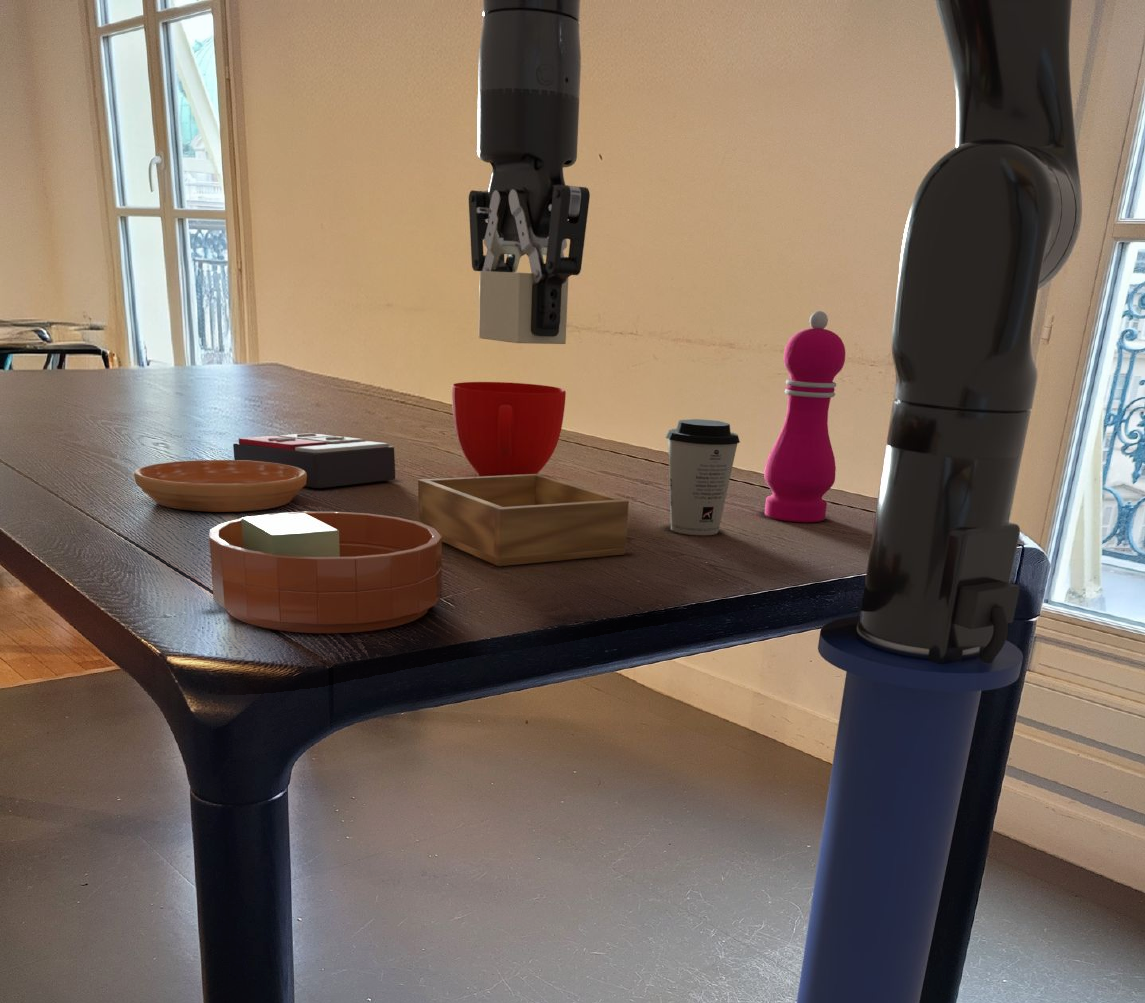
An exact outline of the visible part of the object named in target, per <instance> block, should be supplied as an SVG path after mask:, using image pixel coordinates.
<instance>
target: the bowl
mask: <svg viewBox="0 0 1145 1003" xmlns="http://www.w3.org/2000/svg"><path fill="white" fill-rule="evenodd" d="M289 514H307V515H309V516H311V517H313V518H315V519H317V520H319V521H321V522H323V523H325V524H327V525H329V526H331V527H333V528H335V529H337V530H339V550H340V557H309V556H293V555H279V554H272V553H265V552H259V551H252V550H247V549H244V548H243V536H242V519H241V518H242V517H240V518H236V519H232V520H229V521H224V522H221V523H220V524H217V525H216V526H214V527H212V528H211V529H209V535H208V541H209V542H208V544H209V556H210V569H211V584H212V585H211V586H212V597H213V601H214V602H216V603H217V604H218V605H219V606H221V607H222V608H223V609H225V610H226V611H227V613H228V614H229V615H230V616H232V617H233V618H234V619H236V620H238V621H240V622H242V623H246V624H248V625H251V626H255V627H259V628H263V629H267V630H268V629H269V630H275V631H280V632H281V631H282V632H290V633H300V634H301V633H303V634H327V635H328V634H329V635H330V634H351V633H364V632H373V631H380V630H387V629H390V628H395V627H399V626H403V625H406V624H409V623H412V622H415V621H417V620H419V619H421V618H422V617H424V616H425V615H426V614H427V613H428V612H429V610H430V609H431V608H432V607H434V606H436V605H437V603H438V602H439V600H440V599H441V597H442V564H443V563H442V561H443V560H442V559H443V558H442V555H443V554H442V552H443V551H442V548H443V547H442V545H443V544H442V543H443V542H442V537H441V535H440V534H439V533H438V531H437V530H436V529H434V528H432V527H430V526H427V525H425V524H423V523H420V522H418V521H416V520H411V519H407V518H403V517H399V516H398V517H397V516H390V515H383V514H375V513H368V512H367V513H366V512H352V511H351V512H348V511H291V512H289V511H288V512H273V513H265V514H258V515H251V516H249V517H257V516H273V515H289Z"/></svg>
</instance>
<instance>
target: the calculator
mask: <svg viewBox="0 0 1145 1003" xmlns="http://www.w3.org/2000/svg"><path fill="white" fill-rule="evenodd" d="M232 450H233V458H234V459H233V460H245V461H259V462H270V463H278V464H284V465H290V466H294V467H297V468H300V469H302V470H304V471H305V472H306V473H307V480H306V485H305V486H304V487H306V488H310V489H311V488H313V489H325V488H333V487H334V488H335V487H342V486H343V487H344V486H353V485H361V484H370V483H379V482H387V481H394V480H396V460H395V459H396V458H395V456H396V455H395V447H394V446H392V445H391V446H390V445H389V443H388V442H378V441H370V440H369V441H365V439H364V438H359V437H348V436H344V435H340V436H338V435H336V436H335V435H332V434H331V435H329V434H322V433H321V434H320V433H315V432H309V433H296V434H295V433H294V434H279V435H278V436H276V435H268V436H267V435H265V436H252V437H240V438H238V442H235V443H233V444H232Z"/></svg>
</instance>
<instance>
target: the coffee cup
mask: <svg viewBox="0 0 1145 1003" xmlns="http://www.w3.org/2000/svg"><path fill="white" fill-rule="evenodd" d="M665 439H667V444H668V445H667V448H668V449H667V451H668V481H669V507H670V508H669V513H670V530H671V531H672V532H675V533H678V534H684V535H689V536H712V535H717V534H718V533H719V530H720V526H721V522H722V516H723V512H724V507H725V503H726V499H727V493H728V489H729V484H730V479H731V475H732V472H733V471H732V470H733V465H734V461H735V457H736V452H737V447H738V444H739V443H741V441H740V438H739V435H738V433H735V432H731V424H730V423H728V422H724V421H720V420H713V419H701V418H700V419H698V418H695V419H694V418H693V419H681V420H678V422H677V426H676V428H672V429H668V431H667V433H666V435H665Z"/></svg>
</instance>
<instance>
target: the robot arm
mask: <svg viewBox="0 0 1145 1003" xmlns="http://www.w3.org/2000/svg"><path fill="white" fill-rule="evenodd" d="M933 1H934V6H935V9H936V12H937V16H938V20H939V23H940V26H941V30H942V33H943V37H944V41H945V45H946V49H947V52H948V58H949V60H950V66H951V71H952V76H953V84H954V86H953V87H954V93H955V95H954V96H955V117H956V118H955V147H954V148H952V149H951V150H949V151H948V152H946V153H945V154H944V155H943V156H942V157H940V158H939V159H938V160H937V161H936V162H935V163H934V164H933V165H932V166H931V168H930V169H929V170H928V171H927V173H926V174H925V175H924V177H923V178H922V180H921V181H920V183H919V185H918V187H917V190H916V192H915V194H914V196H913V199H912V201H911V204H910V207H909V212H908V215H907V218H906V224H905V227H904V231H903V232H904V233H903V239H902V243H901V244H902V245H901V252H900V260H899V267H898V277H897V285H896V294H895V295H896V296H895V304H894V311H893V312H894V313H893V320H892V331H891V356H892V362H893V366H894V374H895V383H894V392H893V397H892V398H893V400H892V403H891V410H890V416H889V425H888V430H887V437H886V442H885V443H886V444H885V449H884V455H883V461H882V468H881V474H880V481H879V489H878V495H877V500H876V506H875V514H874V521H873V527H872V534H871V541H870V546H869V554H868V560H867V565H866V566H867V567H866V573H865V580H864V586H863V587H864V588H863V595H862V600H861V610H860V615H859V616H860V621H859V622H858V624H857V631H856V637H857V638H858V639H859V640H860V641H861V642H863V643H864V644H866V645H868V646H870V647H872V648H875V649H877V650H880V651H883V652H887V653H890V654H894V655H899V656H903V657H908V658H915V659H922V660H928V661H931V662H934V663H937V664H948V663H953V662H958V661H963V660H968V659H974V658H980V659H981V660H982V661H984V662H985V663H992V661H993V660H994V658H995V657H996V656H997V655H998V653H999V652H1000V651H1001V649H1002V648H1003V646H1004V644H1005V641H1007V638H1008V633H1009V632H1008V631H1009V627H1008V626H1009V625H1008V624H1011V623H1013V622H1014V618H1015V612H1016V608H1017V604H1018V599H1019V594H1020V589H1021V586H1020V585H1018V584H1014V583H1011V578H1012V574H1013V567H1014V564H1015V559H1016V555H1017V554H1016V553H1017V549H1018V545H1019V538H1020V533H1021V528H1020V526H1019V525H1018V524H1017V523H1014V522H1010V520H1011V513H1012V508H1013V503H1014V499H1015V494H1016V488H1017V483H1018V477H1019V473H1020V467H1021V464H1022V457H1023V453H1024V447H1025V443H1026V438H1027V433H1028V427H1029V423H1030V417H1031V414H1032V410H1031V409H1033V404H1034V400H1035V395H1036V390H1037V384H1038V376H1039V375H1038V369H1037V366H1036V363H1035V361H1034V357H1033V351H1032V329H1033V322H1034V316H1035V308H1036V303H1037V297H1038V291H1039V290H1041V289H1042V288H1044V287H1045V286H1046V285H1048V284H1049V283H1050V282H1051V281H1052V280H1053V279H1055V278H1056V276H1057V275H1058V274H1059V273H1060V272H1061V270H1062V269H1063V268H1064V266H1065V265H1066V263H1067V262H1068V260H1069V258H1070V257H1071V255H1072V254H1073V253H1072V252H1073V250H1074V248H1075V245H1076V242H1077V241H1078V237H1079V234H1080V230H1081V226H1082V217H1083V198H1082V197H1083V196H1082V186H1081V185H1082V184H1081V175H1080V167H1079V159H1078V150H1077V140H1076V138H1077V137H1076V130H1075V129H1076V128H1075V118H1074V107H1073V97H1072V85H1071V84H1072V83H1071V69H1070V68H1071V67H1070V65H1071V64H1070V63H1071V62H1070V39H1071V18H1072V4H1073V0H933ZM580 14H581V0H482V16H483V17H482V26H481V35H480V42H479V50H478V78H477V79H478V80H477V82H478V83H477V84H478V85H477V86H478V87H477V88H478V89H477V93H478V94H477V146H476V147H477V150H476V152H477V156H478V158H479V159H480V160H481V161H482V162H484V163H487V164H490V165H491V167H492V171H491V178H490V182H489V187H488V189H487V190H475V189H473V190H470V191H469V195H468V215H469V217H468V218H469V234H470V236H469V237H470V256H471V257H470V258H471V267H472V270H473V271H474V272H480V271H492V272H515V273H518V272H517V271H518V268H519V264H520V260H521V258H522V257H523V256H525V255H526V256H527V257H528V261H529V262H528V263H529V266H530V271H531V272H530V273H532V277H533V280H534V282H536V283H538V284H532V308H531V332H532V334H533V335H535V336H548V337H555V336H557V335H558V333H559V325H560V313H561V309H560V308H561V289H562V284H564V283H565V282H566V281H567V278H568V279H569V278H570V277H571V276H578V275H580V273H581V271H582V264H583V256H584V247H585V240H586V239H585V238H586V232H587V231H586V230H587V222H588V215H589V214H588V213H589V205H590V196H591V193H590V190H589V188H588V187H585V186H578V185H577V186H576V185H567V184H566V181H565V178H564V168H569V167H571V166H573V165H575V163H576V162H577V159H578V144H579V143H578V141H579V140H578V139H579V122H580V120H579V118H580V97H581V96H580V95H581V94H580V93H581V75H582V74H581V73H582V50H581V49H582V48H581V38H580V37H581V36H580V16H581V15H580ZM567 240H569V249H568V255H567V256H565V254H564V251H565V250H566V248H567V247H568V243H567V242H568V241H567ZM484 246H485V247H486V248H487V249H486V253H485V255H484ZM505 255H507V256H506V259H505ZM544 256H545V260H544Z"/></svg>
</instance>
